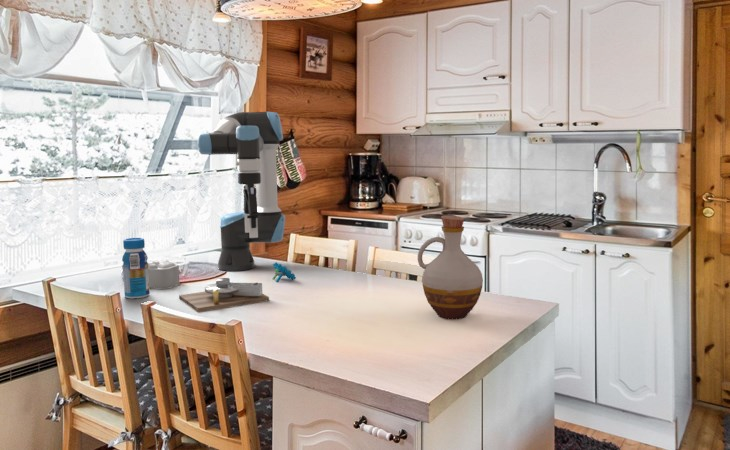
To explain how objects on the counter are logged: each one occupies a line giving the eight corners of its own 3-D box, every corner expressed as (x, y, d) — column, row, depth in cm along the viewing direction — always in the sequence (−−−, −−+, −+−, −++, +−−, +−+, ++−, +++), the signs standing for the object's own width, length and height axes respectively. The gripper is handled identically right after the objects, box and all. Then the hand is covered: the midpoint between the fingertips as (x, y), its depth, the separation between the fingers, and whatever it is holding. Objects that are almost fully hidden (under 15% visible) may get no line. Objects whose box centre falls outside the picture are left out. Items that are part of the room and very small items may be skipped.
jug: (409, 320, 176) (409, 218, 172) (425, 305, 193) (425, 212, 188) (476, 327, 169) (477, 221, 165) (487, 310, 186) (488, 214, 182)
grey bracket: (199, 297, 197) (198, 283, 196) (212, 289, 209) (212, 275, 208) (255, 299, 195) (255, 284, 194) (266, 290, 207) (265, 276, 206)
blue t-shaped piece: (300, 277, 227) (282, 261, 223) (291, 290, 225) (272, 273, 221) (288, 276, 236) (270, 260, 232) (279, 288, 234) (261, 272, 230)
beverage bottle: (118, 298, 206) (114, 240, 203) (136, 292, 214) (132, 236, 211) (138, 300, 203) (134, 241, 200) (155, 294, 211) (152, 237, 208)
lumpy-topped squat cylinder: (165, 289, 218) (164, 265, 217) (136, 287, 222) (134, 263, 221) (183, 283, 228) (182, 260, 227) (154, 280, 232) (153, 258, 231)
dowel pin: (213, 303, 193) (212, 290, 192) (217, 302, 194) (217, 289, 193) (214, 304, 191) (214, 291, 191) (219, 304, 192) (219, 290, 192)
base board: (179, 298, 204) (178, 289, 204) (246, 288, 217) (245, 280, 217) (197, 311, 188) (197, 302, 187) (269, 300, 201) (268, 291, 200)
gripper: (234, 171, 213) (236, 230, 216) (241, 173, 190) (244, 240, 192) (255, 170, 215) (257, 229, 218) (265, 173, 192) (267, 239, 195)
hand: (251, 235), depth 205 cm, fingers open, 13 cm apart
